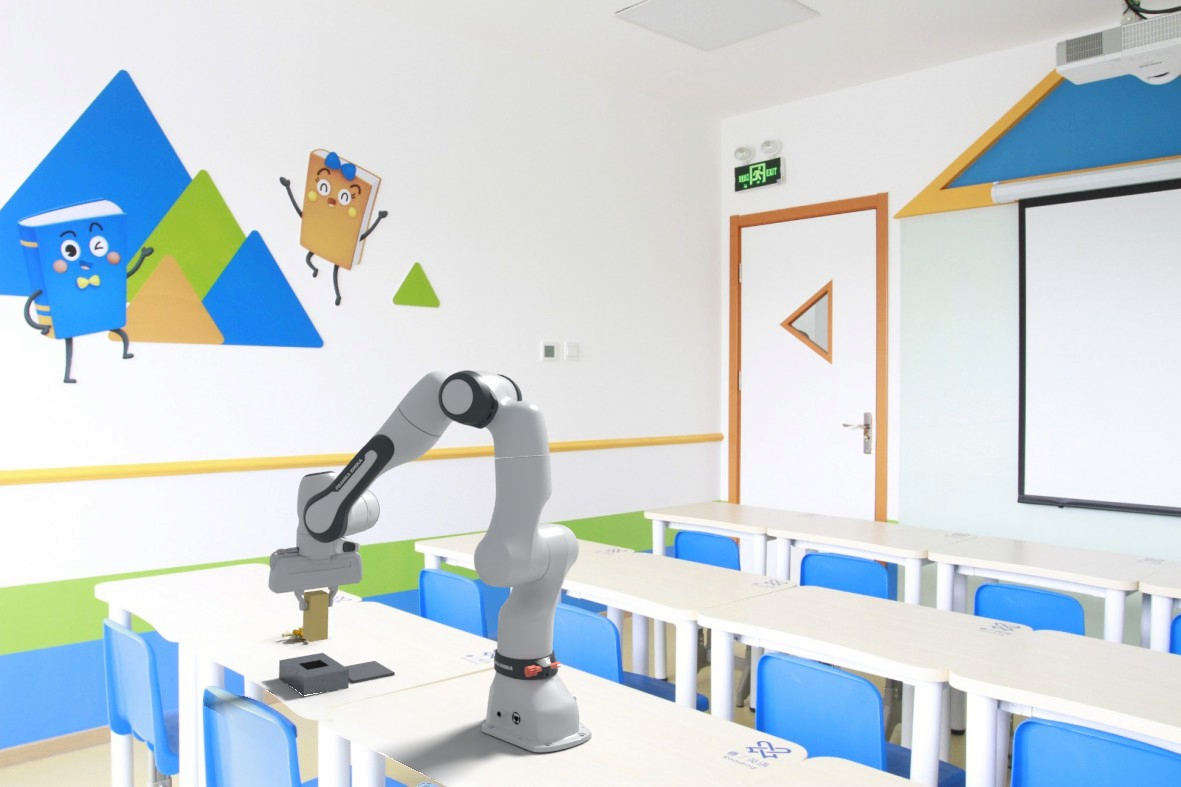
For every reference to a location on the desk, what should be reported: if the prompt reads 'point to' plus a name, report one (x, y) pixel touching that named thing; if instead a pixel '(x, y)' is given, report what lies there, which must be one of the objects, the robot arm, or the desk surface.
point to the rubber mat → (367, 671)
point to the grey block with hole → (313, 674)
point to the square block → (316, 616)
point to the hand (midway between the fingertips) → (315, 608)
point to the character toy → (295, 633)
